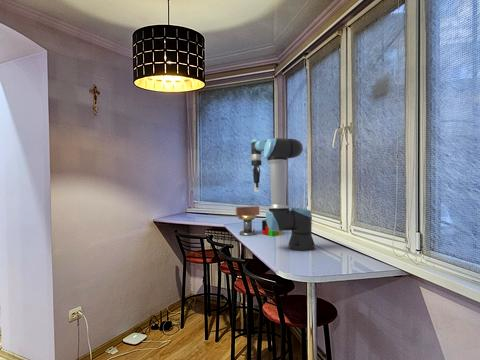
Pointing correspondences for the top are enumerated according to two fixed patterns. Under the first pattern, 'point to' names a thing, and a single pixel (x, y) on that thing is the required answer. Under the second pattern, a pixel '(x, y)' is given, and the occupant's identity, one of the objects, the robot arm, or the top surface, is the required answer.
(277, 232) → the puzzle toy
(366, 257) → the top surface
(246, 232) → the post
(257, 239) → the top surface
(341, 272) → the top surface
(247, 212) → the coupling
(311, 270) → the top surface
